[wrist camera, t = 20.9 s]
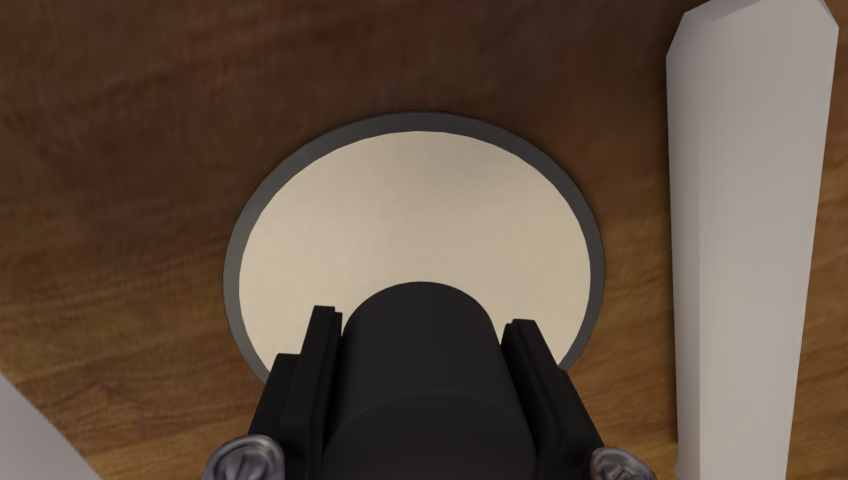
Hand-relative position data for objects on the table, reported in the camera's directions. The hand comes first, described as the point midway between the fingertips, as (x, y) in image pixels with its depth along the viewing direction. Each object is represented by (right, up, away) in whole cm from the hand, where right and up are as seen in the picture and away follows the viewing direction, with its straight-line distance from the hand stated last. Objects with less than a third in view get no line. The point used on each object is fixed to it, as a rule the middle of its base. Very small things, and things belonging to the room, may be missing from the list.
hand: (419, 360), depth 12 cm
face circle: (0, 0, +9) cm, 9 cm away
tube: (+14, +2, +10) cm, 17 cm away
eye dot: (0, 0, 0) cm, 1 cm away
